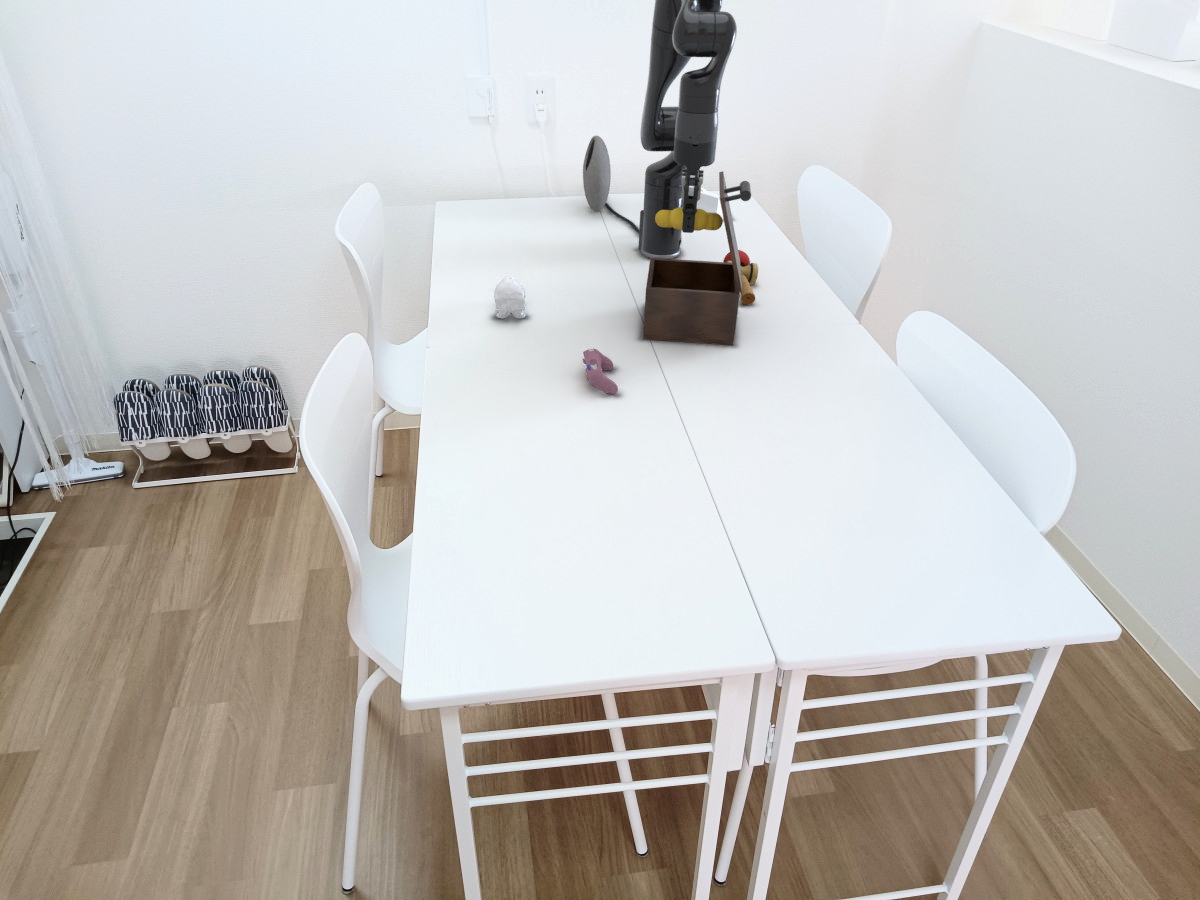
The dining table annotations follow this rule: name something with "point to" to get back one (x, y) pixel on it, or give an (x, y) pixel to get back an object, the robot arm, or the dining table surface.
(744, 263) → the kendama
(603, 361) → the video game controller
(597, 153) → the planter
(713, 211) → the napkin holder
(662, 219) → the yellow lobed rod
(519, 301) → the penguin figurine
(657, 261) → the toy chest
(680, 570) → the dining table surface
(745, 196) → the lid
